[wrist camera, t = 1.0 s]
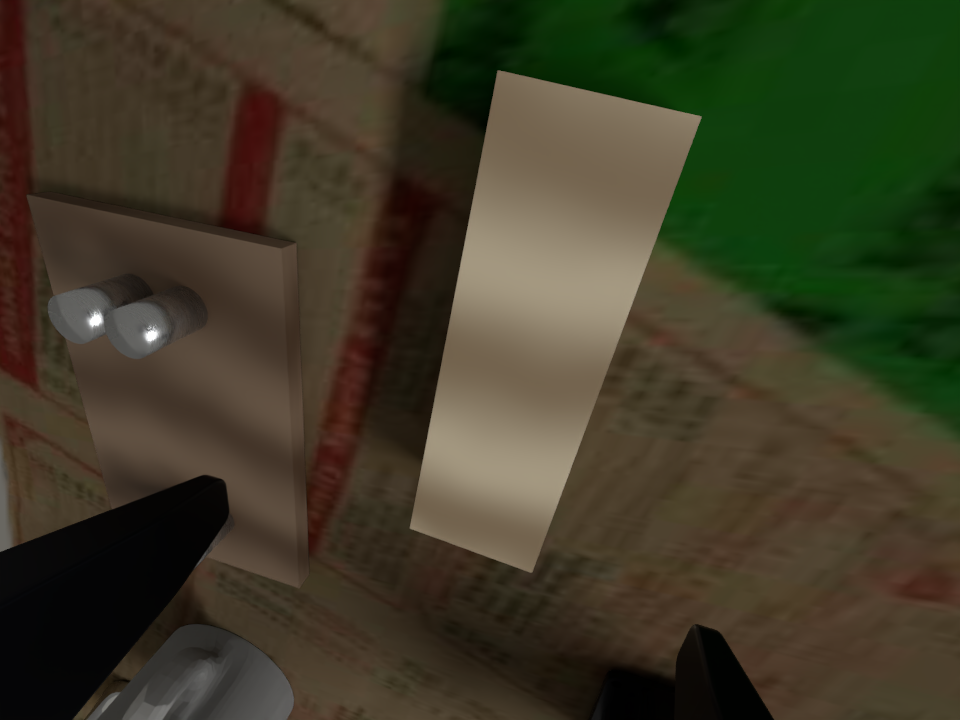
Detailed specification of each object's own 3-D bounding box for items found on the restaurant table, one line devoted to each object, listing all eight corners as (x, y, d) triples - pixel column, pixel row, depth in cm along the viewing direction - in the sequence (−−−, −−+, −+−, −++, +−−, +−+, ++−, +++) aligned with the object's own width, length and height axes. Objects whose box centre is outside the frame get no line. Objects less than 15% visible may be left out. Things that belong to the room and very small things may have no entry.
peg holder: (309, 574, 29) (265, 637, 25) (131, 514, 31) (67, 565, 28) (296, 243, 20) (226, 269, 17) (49, 191, 22) (-58, 205, 19)
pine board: (546, 503, 23) (531, 573, 19) (442, 467, 24) (409, 528, 20) (685, 116, 15) (701, 116, 12) (526, 80, 16) (497, 70, 13)
